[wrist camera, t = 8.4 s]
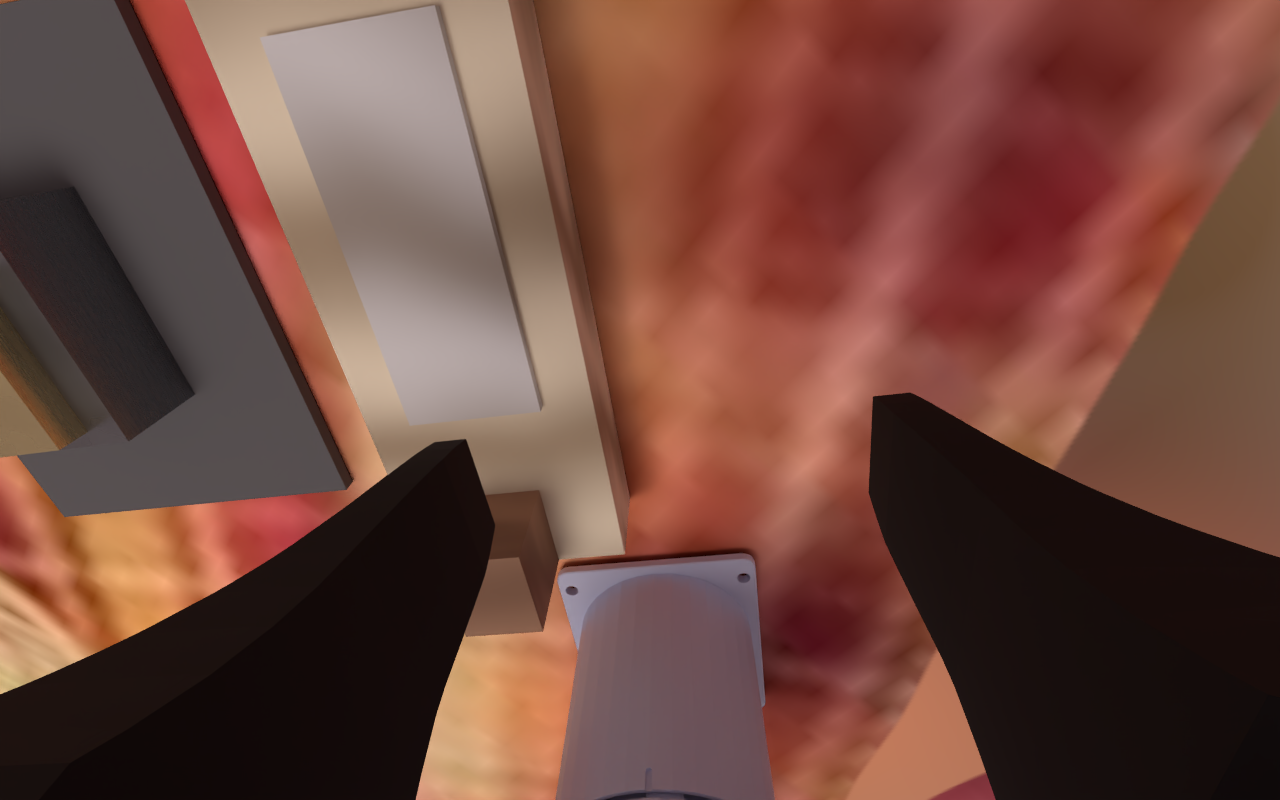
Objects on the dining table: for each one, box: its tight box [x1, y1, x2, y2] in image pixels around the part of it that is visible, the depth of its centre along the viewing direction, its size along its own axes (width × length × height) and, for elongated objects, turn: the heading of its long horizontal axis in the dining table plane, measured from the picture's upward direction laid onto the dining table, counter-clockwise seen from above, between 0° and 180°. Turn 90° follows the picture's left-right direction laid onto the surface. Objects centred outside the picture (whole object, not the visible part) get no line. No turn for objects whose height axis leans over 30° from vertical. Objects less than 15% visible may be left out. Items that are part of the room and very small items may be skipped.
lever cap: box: [0, 186, 195, 457], centre depth 18 cm, size 7×4×4 cm, turn 9°
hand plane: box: [185, 0, 630, 637], centre depth 16 cm, size 22×7×6 cm, turn 8°
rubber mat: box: [0, 0, 353, 517], centre depth 20 cm, size 16×12×1 cm
